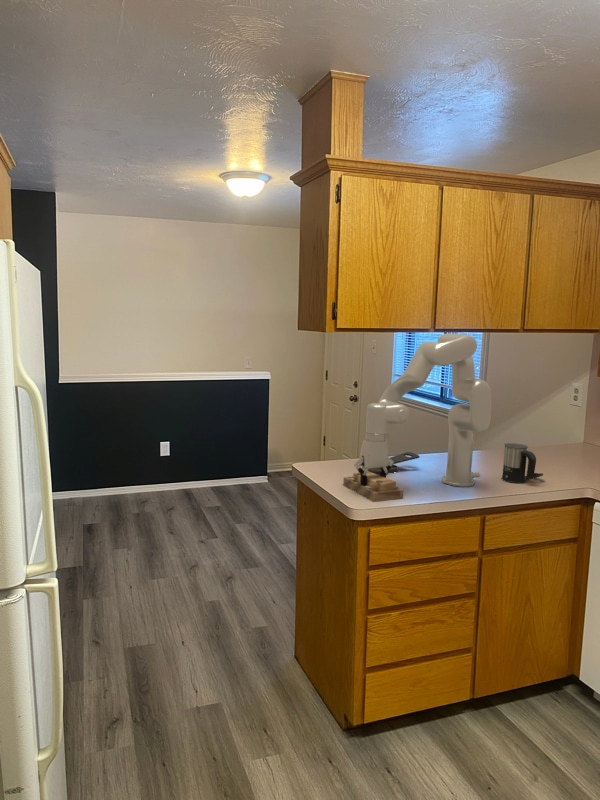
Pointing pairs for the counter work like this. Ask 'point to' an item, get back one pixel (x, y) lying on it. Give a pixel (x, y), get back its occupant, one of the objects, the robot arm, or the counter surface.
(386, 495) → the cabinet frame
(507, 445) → the milk frother
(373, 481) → the tan rectangular block
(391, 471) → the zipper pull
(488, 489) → the counter surface
